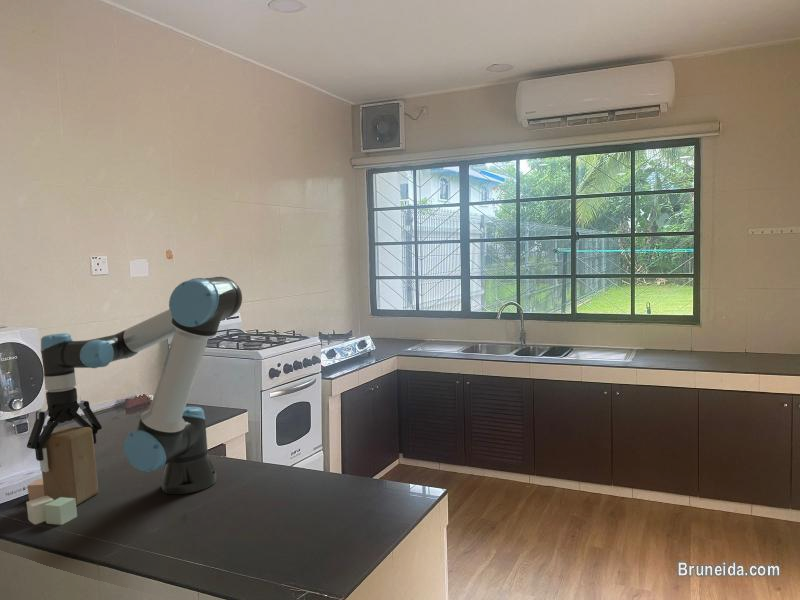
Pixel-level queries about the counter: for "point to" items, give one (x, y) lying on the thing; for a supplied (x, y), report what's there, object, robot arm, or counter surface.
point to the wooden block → (70, 464)
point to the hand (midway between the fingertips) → (68, 463)
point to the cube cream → (37, 509)
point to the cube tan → (36, 489)
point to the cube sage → (60, 510)
